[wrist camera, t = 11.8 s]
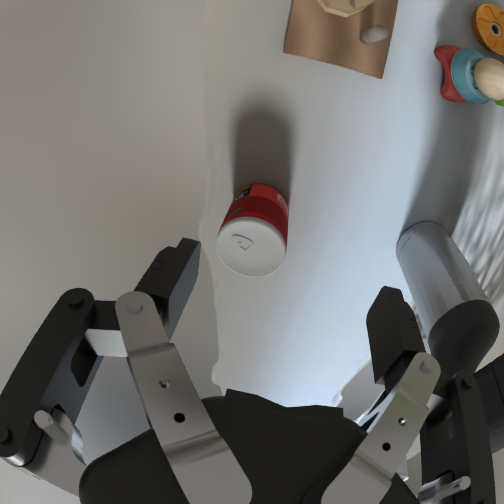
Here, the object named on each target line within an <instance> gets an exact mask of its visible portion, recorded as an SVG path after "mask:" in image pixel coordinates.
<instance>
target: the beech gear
mask: <svg viewBox="0 0 504 504" xmlns="http://www.w3.org/2000/svg"><path fill="white" fill-rule="evenodd" d="M316 1H317V2H318V3H319V5H320V6H321V7H322V8H323V10H324V11H325V12H327V13H331V14H335V15H339V16H343V17H346V18H347V17H349V16H351V15H353V14H355V13H357V12H360V11H362V10H364V9H365V8H366V7H367V6H368V5H370V4H371V3H372V2H373V1H374V0H316Z"/></svg>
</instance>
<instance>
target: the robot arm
mask: <svg viewBox="0 0 504 504" xmlns="http://www.w3.org/2000/svg"><path fill="white" fill-rule="evenodd" d="M200 248H201V242H200V241H196V240H192V239H188V238H182V240H181V241H180V243H179V244H178V246H177V247H176V248H174V247H170V246H168V247H166V248H165V249H163V250H162V251H160V252H159V253H158V255H157V256H156V258H155V259H154V261H153V262H152V264H151V265H150V267H149V268H148V270H147V271H146V272H145V274H144V275H143V277H142V279H141V280H140V282H139V283H138V285H137V286H136V288H135V289H134V291H132V292H128V293H125V294H123V295H122V296H120V297H119V298H118V299H117V301H99V300H94V297H93V295H92V293H91V292H89V291H88V290H86V289H83V288H74V289H71V290H68V291H66V292H65V293H64V294H63V295H62V296H61V297H60V298H59V300H58V301H57V303H56V304H55V306H54V307H53V309H52V310H51V311H50V313H49V314H48V316H47V317H46V319H45V320H44V322H43V323H42V325H41V326H40V328H39V330H38V331H37V333H36V334H35V336H34V337H33V339H32V341H31V342H30V344H29V345H28V347H27V349H26V351H25V352H24V354H23V355H22V357H21V359H20V361H19V362H18V364H17V366H16V368H15V369H14V371H13V373H12V374H11V376H10V378H9V380H8V382H7V384H6V386H5V388H4V389H3V391H2V393H1V395H0V457H1V458H3V459H4V460H5V461H7V462H8V463H9V464H11V465H12V466H14V467H16V468H18V469H19V470H21V471H23V472H25V473H26V474H29V475H32V476H34V477H36V478H38V479H41V480H46V481H48V482H50V483H52V484H54V485H56V486H58V487H60V488H61V489H64V490H66V491H68V492H70V493H72V494H74V495H76V496H78V497H79V498H80V502H81V504H496V497H495V481H494V470H493V461H492V454H493V453H495V452H497V451H499V450H500V449H502V448H504V353H503V354H502V355H501V356H499V357H498V358H496V359H495V360H493V362H490V363H489V364H488V365H486V366H485V367H483V368H482V369H480V370H479V371H477V372H475V371H476V369H477V367H478V365H479V364H480V362H481V361H482V359H483V358H484V357H485V355H486V354H487V353H488V351H489V350H490V349H491V347H492V346H493V344H494V343H495V341H496V339H497V336H498V333H499V328H500V324H499V319H498V317H497V314H496V312H495V310H494V309H493V307H492V305H491V303H490V302H489V300H488V298H487V296H486V295H485V293H484V291H483V289H482V288H481V286H480V284H479V283H478V281H477V279H476V278H475V273H474V271H473V270H472V268H471V266H470V265H469V263H468V262H467V260H466V259H465V257H464V256H463V254H462V253H461V251H460V250H459V248H458V247H457V245H456V244H455V243H454V241H453V240H452V238H451V237H449V236H448V235H447V233H446V232H445V231H444V229H443V228H442V227H441V226H440V225H438V224H436V223H433V222H421V223H418V224H415V225H413V226H412V227H410V228H409V229H408V230H406V231H405V232H404V234H403V235H402V236H401V238H400V239H399V241H398V244H397V248H396V256H397V259H398V262H399V264H400V266H401V269H402V271H403V274H404V277H405V279H406V282H407V284H408V287H409V290H410V292H411V295H412V297H413V300H414V303H415V306H416V309H417V311H418V314H419V317H420V320H421V323H422V326H423V329H424V332H425V335H426V338H427V341H428V344H429V348H430V351H431V355H430V354H428V353H426V351H425V347H424V344H423V341H422V337H421V333H420V330H419V329H418V328H419V327H418V324H417V322H416V318H415V315H414V312H413V310H412V309H411V307H410V306H409V304H408V303H407V302H405V301H404V298H403V295H402V292H401V290H400V289H396V288H392V287H388V286H384V287H382V289H381V290H380V292H379V294H378V296H377V297H376V299H375V301H374V302H373V304H372V306H371V308H370V309H369V311H368V314H367V318H366V325H367V331H368V337H369V344H370V350H371V357H372V365H373V372H374V380H375V384H384V385H385V389H384V390H383V391H382V392H381V394H380V395H379V397H378V398H377V399H376V401H375V402H374V403H373V405H372V406H371V408H370V409H369V410H368V412H367V413H366V414H365V416H364V417H363V418H362V419H361V421H360V422H359V423H358V424H357V423H355V422H354V421H352V420H350V419H348V418H346V417H343V408H338V407H329V406H321V405H311V406H300V407H284V406H282V405H279V404H277V403H274V402H272V401H270V400H267V399H265V398H263V397H260V396H258V395H255V394H250V393H245V392H241V391H236V390H232V389H227V391H226V394H225V396H214V397H208V398H204V399H200V397H199V395H198V393H197V391H196V389H195V387H194V385H193V383H192V381H191V379H190V376H189V374H188V372H187V370H186V368H185V365H184V363H183V361H182V359H181V357H180V355H179V352H178V350H177V348H176V346H175V345H174V344H173V343H172V344H171V343H170V342H169V341H170V340H171V337H172V335H173V333H174V330H175V328H176V326H177V323H178V321H179V319H180V316H181V314H182V312H183V309H184V307H185V305H186V302H187V300H188V298H189V296H190V294H191V292H192V289H193V287H194V285H195V282H196V279H197V275H198V268H199V258H200ZM104 356H117V357H126V359H127V362H128V365H129V369H130V372H131V375H132V378H133V381H134V384H135V387H136V391H137V393H138V396H139V400H140V402H141V405H142V408H143V411H144V414H145V417H146V419H147V422H148V425H149V427H150V429H149V430H147V431H145V432H144V433H142V434H140V435H138V436H137V437H135V438H133V439H131V440H130V441H128V442H126V443H124V444H123V445H121V446H119V447H117V448H115V449H114V450H112V451H110V452H108V453H106V454H104V455H102V456H101V457H99V458H97V459H95V460H94V461H92V462H91V463H90V464H89V465H88V466H87V465H86V464H85V462H84V460H83V457H82V447H83V438H82V435H81V433H80V431H79V430H78V429H77V427H76V426H75V425H74V424H75V422H76V419H77V417H78V414H79V412H80V410H81V407H82V404H83V402H84V400H85V398H86V395H87V393H88V391H89V388H90V386H91V384H92V381H93V379H94V377H95V375H96V372H97V370H98V368H99V366H100V364H101V362H102V359H103V357H104ZM419 431H420V444H421V464H422V487H421V489H420V490H419V493H418V496H416V497H415V495H414V494H413V493H412V492H411V490H410V489H409V488H408V486H407V485H406V484H405V483H404V481H403V480H402V479H401V477H400V476H399V475H398V473H397V472H396V471H397V469H398V468H399V466H400V464H401V463H402V461H403V460H404V458H405V456H406V454H407V453H408V451H409V449H410V448H411V446H412V444H413V442H414V440H415V439H416V437H417V435H418V433H419Z"/></svg>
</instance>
